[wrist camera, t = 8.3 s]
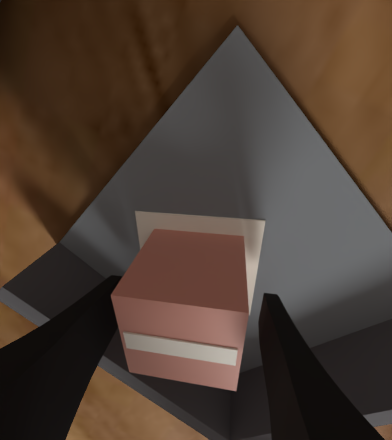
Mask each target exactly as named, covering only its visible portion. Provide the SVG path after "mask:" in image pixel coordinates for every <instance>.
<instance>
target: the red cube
mask: <svg viewBox="0 0 392 440" xmlns="http://www.w3.org/2000/svg"><path fill="white" fill-rule="evenodd" d="M111 299H112V303H113V307H114V311H115V315H116V319H117V323H118V328H119V332H120V336H121V340H122V344H123V348H124V352H125V357H126V361H127V365H128V369H129V372H131V373H137V374H142V375H148V376H153V377H159V378H165V379H170V380H176V381H181V382H187V383H193V384H198V385H204V386H209V387H215V388H221V389H226V390H232V391H236V390H237V383H238V377H239V371H240V365H241V359H242V353H243V347H244V341H245V335H246V329H247V322H248V316H249V305H248V290H247V274H246V259H245V244H244V236H237V235H225V234H213V233H201V232H189V231H177V230H165V229H154V230H153V231H152V233H151V234H150V236H149V237H148V239H147V241H146V242H145V244H144V245H143V247H142V248H141V250H140V251H139V253H138V254H137V256H136V257H135V259H134V260H133V262H132V263H131V265H130V266H129V268H128V269H127V271H126V273H125V274H124V276H123V277H122V279H121V280H120V282H119V283H118V285H117V286H116V288H115V289H114V291H113V292H112V294H111Z"/></svg>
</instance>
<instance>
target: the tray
mask: <svg viewBox="0 0 392 440" xmlns="http://www.w3.org/2000/svg"><path fill="white" fill-rule="evenodd" d="M154 229H165V230H177V231H189V232H201V233H213V234H225V235H237V236H244V244H245V259H246V274H247V290H248V305H249V316H248V322H247V329H246V335H245V341H244V347H243V353H242V359H241V365H240V371H239V377H238V383H237V390H236V391H232V390H226V389H221V388H215V387H209V386H204V385H198V384H193V383H187V382H181V381H176V380H170V379H165V378H159V377H153V376H148V375H142V374H137V373H131V372H129V369H128V365H127V361H126V357H125V352H124V348H123V344H122V340H121V336H120V332H119V328H117V330H116V332H115V334H114V336H113V338H112V340H111V341H110V343H109V345H108V347H107V349H106V351H105V352H104V354H103V356H102V358H101V360H100V362H99V364H98V366H99V367H101V368H102V369H104V370H105V371H107V372H108V373H110V374H111V375H113V376H114V377H116V378H117V379H119V380H120V381H122V382H123V383H125V384H126V385H128V386H129V387H131V388H132V389H134V390H136V391H137V392H139V393H140V394H142V395H143V396H145V397H146V398H148V399H149V400H151V401H152V402H154V403H155V404H157V405H158V406H160V407H161V408H163V409H164V410H166V411H167V412H169V413H170V414H172V415H173V416H175V417H176V418H178V419H179V420H181V421H182V422H184V423H185V424H187V425H188V426H190V427H192V428H193V429H195V430H196V431H198V432H199V433H201V434H202V435H204V436H205V437H207V438H208V439H210V440H272V437H271V424H270V412H269V403H268V396H267V389H266V383H265V377H264V370H263V364H262V358H261V351H260V345H259V328H258V320H259V315H260V310H261V305H262V300H263V295H264V293H271V294H277V295H278V296H279V297H280V299H281V301H282V303H283V305H284V307H285V309H286V310H287V312H288V314H289V316H290V317H291V319H292V321H293V323H294V324H295V326H296V327H297V329H298V331H299V332H300V334H301V335H302V337H303V338H304V340H305V342H306V343H307V345H308V346H309V348H310V349H311V350H312V352H313V353H314V355H315V356H316V358H317V359H318V360H319V362H320V363H321V365H322V366H323V367H324V369H325V370H326V371H327V373H328V374H329V375H330V376H331V378H332V379H333V380H334V382H335V383H336V384H337V385H338V387H339V388H340V389H341V390H342V392H343V393H344V394H345V395H346V396H347V398H348V399H349V400H350V401H351V402H352V404H353V405H354V406H355V407H356V408H357V409H358V410H359V412H360V413H361V414H362V415H363V416H364V417H365V418H366V419H367V421H368V422H369V423H370V424H371V425H372V426H373V427H376V426H382V425H388V424H392V232H391V231H390V230H389V228H388V227H387V226H386V224H385V223H384V222H383V220H382V219H381V218H380V216H379V215H378V214H377V212H376V211H375V210H374V208H373V207H372V205H371V204H370V203H369V201H368V200H367V199H366V197H365V196H364V195H363V193H362V192H361V191H360V189H359V188H358V187H357V185H356V184H355V183H354V181H353V180H352V179H351V177H350V176H349V174H348V173H347V172H346V170H345V169H344V168H343V166H342V165H341V164H340V162H339V161H338V160H337V158H336V157H335V156H334V154H333V153H332V152H331V150H330V149H329V148H328V146H327V145H326V143H325V142H324V141H323V139H322V138H321V137H320V135H319V134H318V133H317V131H316V130H315V129H314V127H313V126H312V125H311V123H310V122H309V121H308V119H307V118H306V117H305V115H304V114H303V112H302V111H301V110H300V108H299V107H298V106H297V104H296V103H295V102H294V100H293V99H292V98H291V96H290V95H289V94H288V92H287V91H286V90H285V88H284V87H283V86H282V84H281V83H280V81H279V80H278V79H277V77H276V76H275V75H274V73H273V72H272V71H271V69H270V68H269V67H268V65H267V64H266V63H265V61H264V60H263V59H262V57H261V56H260V55H259V53H258V52H257V50H256V49H255V48H254V46H253V45H252V44H251V42H250V41H249V40H248V38H247V37H246V36H245V34H244V33H243V32H242V30H241V29H240V28H239V26H238V25H237V26H236V28H235V29H234V30H233V31H232V32H231V34H230V35H229V36H228V37H227V39H226V40H225V41H224V42H223V43H222V45H221V46H220V47H219V48H218V49H217V51H216V52H215V53H214V54H213V56H212V57H211V58H210V59H209V60H208V62H207V63H206V64H205V65H204V67H203V68H202V69H201V70H200V71H199V73H198V74H197V75H196V76H195V78H194V79H193V80H192V81H191V82H190V84H189V85H188V86H187V87H186V88H185V90H184V91H183V92H182V93H181V95H180V96H179V97H178V98H177V99H176V101H175V102H174V103H173V104H172V106H171V107H170V108H169V109H168V110H167V112H166V113H165V114H164V115H163V117H162V118H161V119H160V120H159V121H158V123H157V124H156V125H155V126H154V127H153V129H152V130H151V131H150V132H149V134H148V135H147V136H146V137H145V138H144V140H143V141H142V142H141V143H140V145H139V146H138V147H137V148H136V149H135V151H134V152H133V153H132V154H131V156H130V157H129V158H128V159H127V160H126V162H125V163H124V164H123V165H122V166H121V168H120V169H119V170H118V171H117V173H116V174H115V175H114V176H113V177H112V179H111V180H110V181H109V182H108V184H107V185H106V186H105V187H104V188H103V190H102V191H101V192H100V193H99V194H98V196H97V197H96V198H95V199H94V201H93V202H92V203H91V204H90V205H89V207H88V208H87V209H86V210H85V212H84V213H83V214H82V215H81V216H80V218H79V219H78V220H77V221H76V223H75V224H74V225H73V226H72V227H71V229H70V230H69V231H68V232H67V233H66V235H65V236H64V237H63V238H62V240H61V241H60V242H59V243H58V244H56V245H55V246H54V247H53V248H51V249H50V250H49V251H47V252H46V253H45V254H44V255H42V256H41V257H40V258H38V259H37V260H36V261H35V262H33V263H32V264H31V265H29V266H28V267H27V268H26V269H24V270H23V271H22V272H20V273H19V274H18V275H17V276H15V277H14V278H13V279H11V280H10V281H9V282H8V283H6V284H5V285H4V286H3V287H2V288H1V289H0V301H1V302H2V303H4V304H5V305H7V306H8V307H10V308H11V309H13V310H14V311H16V312H17V313H19V314H20V315H22V316H23V317H25V318H27V319H28V320H30V321H31V322H33V323H34V324H36V325H37V326H39V327H40V326H41V325H43V324H44V323H46V322H47V321H49V320H51V319H52V318H54V317H55V316H56V315H58V314H59V313H61V312H62V311H64V310H65V309H66V308H68V307H69V306H71V305H72V304H74V303H75V302H76V301H78V300H79V299H80V298H82V297H83V296H84V295H86V294H87V293H88V292H90V291H91V290H92V289H94V288H95V287H96V286H97V285H99V284H100V283H101V282H103V281H104V280H105V279H107V278H108V277H109V276H111V275H115V276H122V277H123V276H124V274H125V273H126V271H127V269H128V268H129V266H130V265H131V263H132V262H133V260H134V259H135V257H136V256H137V254H138V253H139V251H140V250H141V248H142V247H143V245H144V244H145V242H146V241H147V239H148V237H149V236H150V234H151V233H152V231H153V230H154Z"/></svg>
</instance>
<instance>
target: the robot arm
mask: <svg viewBox="0 0 392 440" xmlns="http://www.w3.org/2000/svg"><path fill="white" fill-rule="evenodd" d="M121 279H122V276H115V275H111V276H109V277H108V278H107V279H105V280H104V281H103V282H101V283H100V284H99V285H97V286H96V287H95V288H94V289H92V290H91V291H90V292H88V293H87V294H86V295H84V296H83V297H82V298H80V299H79V300H78V301H76V302H75V303H74V304H72V305H71V306H69V307H68V308H66V309H65V310H64V311H62V312H61V313H59V314H58V315H56V316H55V317H54V318H52V319H51V320H49V321H47V322H46V323H44V324H43V325H41V326H40V327H38V328H36V329H35V330H33V331H31V332H30V333H28V334H26V335H25V336H23V337H21V338H19V339H17V340H16V341H14V342H12V343H10V344H8V345H6V346H4V347H3V348H1V349H0V440H66V437H67V434H68V432H69V429H70V427H71V424H72V422H73V419H74V417H75V414H76V412H77V410H78V407H79V405H80V402H81V400H82V398H83V395H84V393H85V391H86V389H87V386H88V384H89V382H90V379H91V377H92V375H93V373H94V371H95V369H96V367H97V365H98V364H99V362H100V360H101V358H102V356H103V354H104V352H105V351H106V349H107V347H108V345H109V343H110V341H111V340H112V338H113V336H114V334H115V332H116V330H117V328H118V323H117V319H116V315H115V311H114V307H113V303H112V299H111V294H112V292H113V291H114V289H115V288H116V286H117V285H118V283H119V282H120V280H121ZM258 328H259V345H260V351H261V358H262V364H263V370H264V377H265V383H266V389H267V396H268V403H269V412H270V424H271V437H272V440H385V439H384V438H383V437H382V436H381V435H380V434H379V433H378V432H377V431H376V429H375V428H374V427H373V426H372V425H371V424H370V423H369V422H368V421H367V419H366V418H365V417H364V416H363V415H362V414H361V413H360V412H359V410H358V409H357V408H356V407H355V406H354V405H353V404H352V402H351V401H350V400H349V399H348V398H347V396H346V395H345V394H344V393H343V392H342V390H341V389H340V388H339V387H338V385H337V384H336V383H335V382H334V380H333V379H332V378H331V376H330V375H329V374H328V373H327V371H326V370H325V369H324V367H323V366H322V365H321V363H320V362H319V360H318V359H317V358H316V356H315V355H314V353H313V352H312V350H311V349H310V348H309V346H308V345H307V343H306V342H305V340H304V338H303V337H302V335H301V334H300V332H299V331H298V329H297V327H296V326H295V324H294V323H293V321H292V319H291V317H290V316H289V314H288V312H287V310H286V309H285V307H284V305H283V303H282V301H281V299H280V297H279V296H278V295H277V294H271V293H264V295H263V300H262V305H261V310H260V315H259V320H258ZM208 440H210V439H208Z"/></svg>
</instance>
